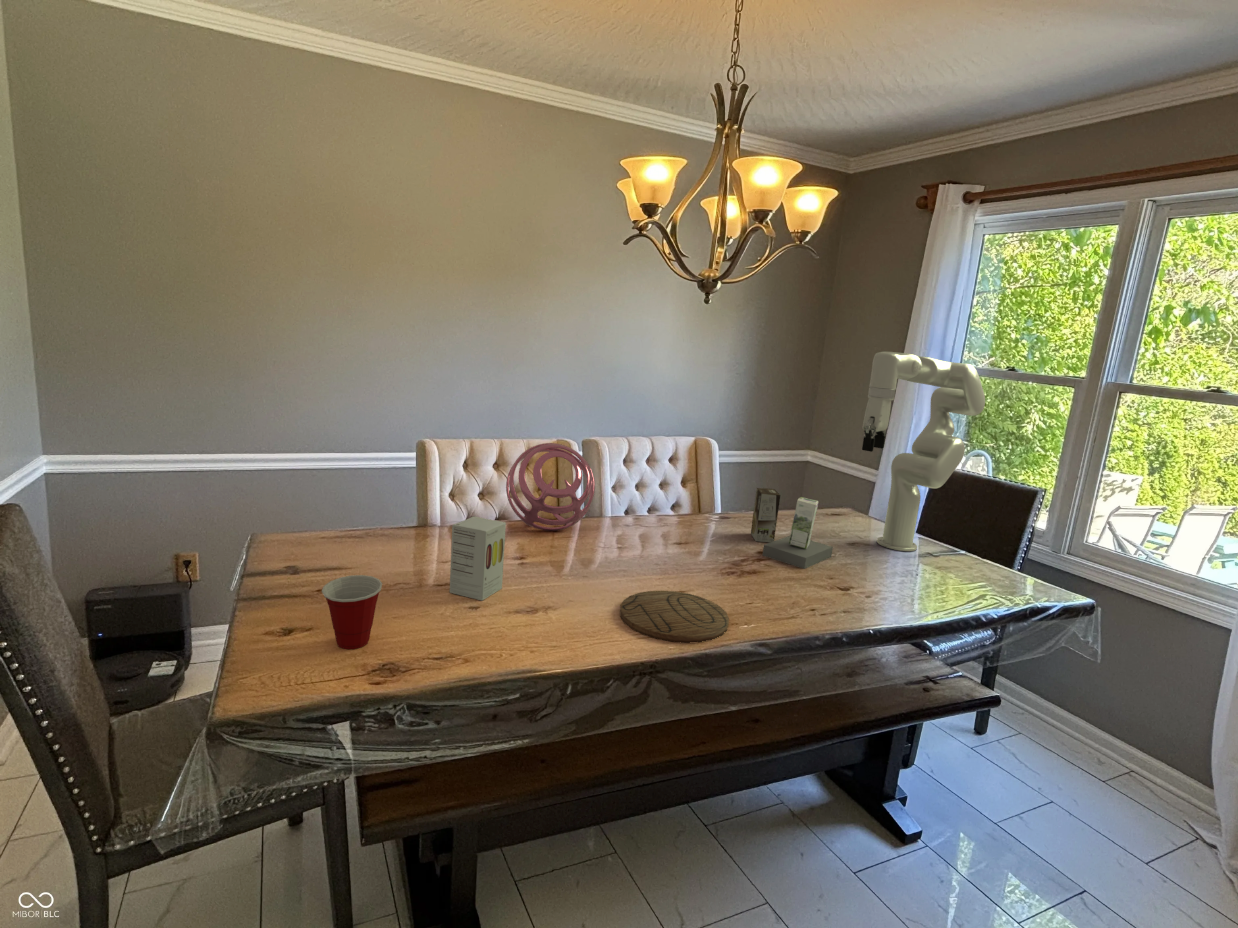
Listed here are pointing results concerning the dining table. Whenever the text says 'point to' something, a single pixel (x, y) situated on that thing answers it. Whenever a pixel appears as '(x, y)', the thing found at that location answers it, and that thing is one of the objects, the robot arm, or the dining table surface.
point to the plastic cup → (352, 608)
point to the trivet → (674, 616)
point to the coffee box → (765, 514)
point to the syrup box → (803, 522)
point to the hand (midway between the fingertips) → (872, 449)
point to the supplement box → (477, 557)
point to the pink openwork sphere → (547, 489)
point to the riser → (797, 552)
